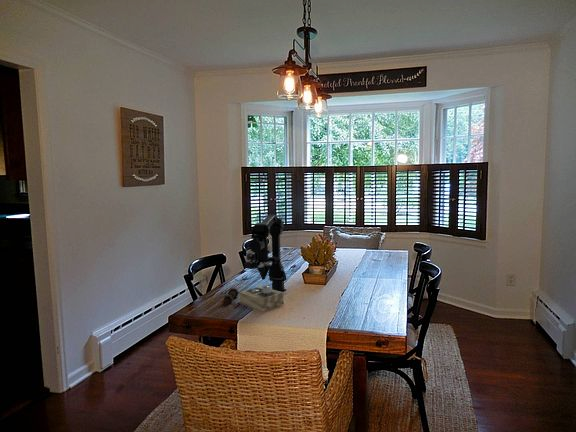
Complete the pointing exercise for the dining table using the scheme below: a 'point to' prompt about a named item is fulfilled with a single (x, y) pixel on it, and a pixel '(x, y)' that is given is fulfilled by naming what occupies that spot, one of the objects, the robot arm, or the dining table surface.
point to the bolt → (230, 296)
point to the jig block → (261, 299)
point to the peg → (266, 290)
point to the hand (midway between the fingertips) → (263, 279)
